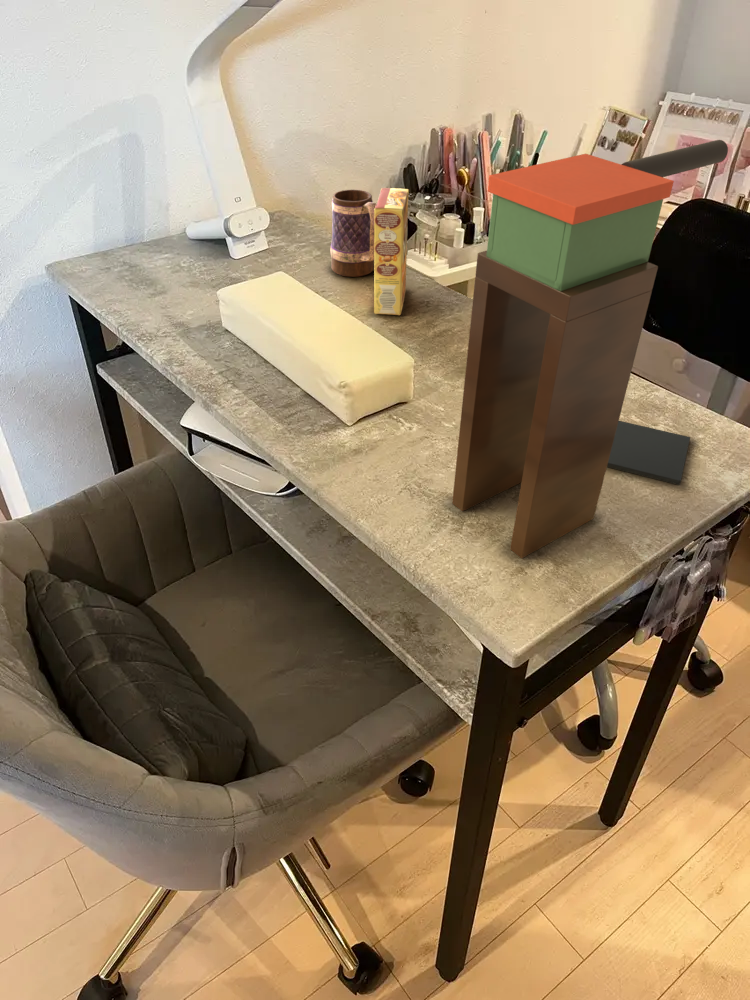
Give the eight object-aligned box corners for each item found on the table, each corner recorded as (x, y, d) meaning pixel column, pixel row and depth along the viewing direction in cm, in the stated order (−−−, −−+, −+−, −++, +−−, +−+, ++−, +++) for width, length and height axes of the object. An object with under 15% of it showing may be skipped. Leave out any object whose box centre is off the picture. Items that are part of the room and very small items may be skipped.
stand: (522, 469, 83) (563, 228, 66) (593, 518, 76) (658, 266, 60) (451, 503, 78) (477, 252, 62) (521, 558, 72) (570, 296, 55)
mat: (689, 441, 87) (690, 436, 87) (679, 485, 81) (681, 480, 80) (600, 420, 90) (601, 416, 90) (584, 461, 84) (585, 457, 83)
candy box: (401, 316, 111) (405, 208, 101) (372, 314, 111) (373, 207, 101) (406, 291, 118) (410, 188, 108) (378, 289, 118) (380, 186, 108)
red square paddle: (673, 150, 68) (679, 128, 67) (760, 174, 63) (768, 151, 62) (486, 195, 58) (489, 170, 57) (572, 229, 53) (576, 202, 52)
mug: (323, 265, 125) (321, 189, 117) (361, 257, 128) (361, 183, 120) (353, 288, 118) (353, 209, 110) (392, 280, 121) (395, 202, 113)
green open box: (572, 231, 66) (583, 170, 62) (648, 261, 61) (664, 196, 57) (485, 256, 61) (492, 192, 58) (560, 291, 56) (572, 222, 53)
